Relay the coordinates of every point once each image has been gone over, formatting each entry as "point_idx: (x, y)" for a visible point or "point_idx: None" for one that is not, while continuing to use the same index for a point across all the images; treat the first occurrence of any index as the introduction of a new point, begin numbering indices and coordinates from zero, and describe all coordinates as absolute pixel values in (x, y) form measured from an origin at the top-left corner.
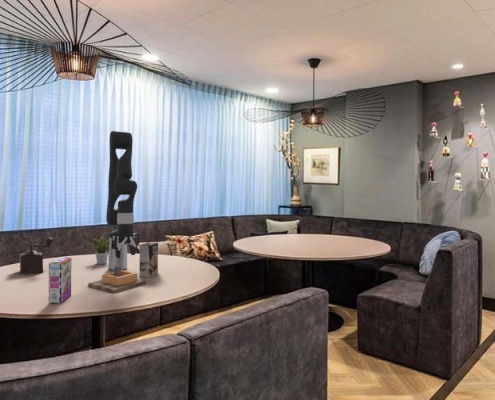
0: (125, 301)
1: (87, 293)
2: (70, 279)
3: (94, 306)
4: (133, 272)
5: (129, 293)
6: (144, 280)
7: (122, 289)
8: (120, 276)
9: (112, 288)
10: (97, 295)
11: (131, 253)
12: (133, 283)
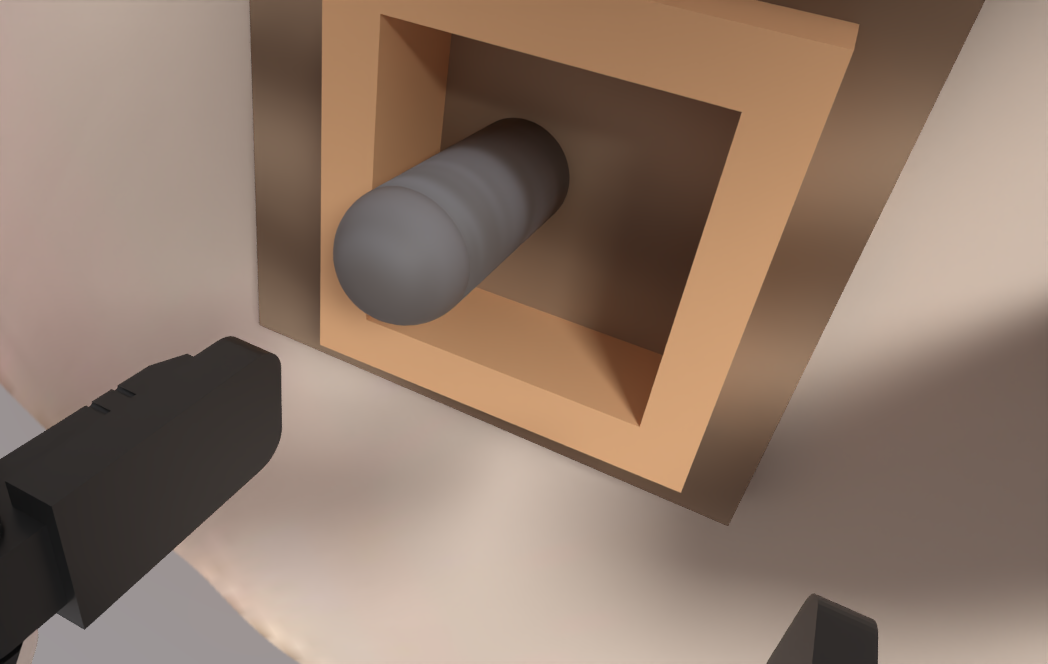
0: None
1: (123, 28)
2: None
3: (32, 338)
4: (695, 418)
5: (355, 450)
6: (731, 507)
7: None
8: (386, 334)
9: (274, 289)
10: (156, 191)
11: (803, 646)
12: None
